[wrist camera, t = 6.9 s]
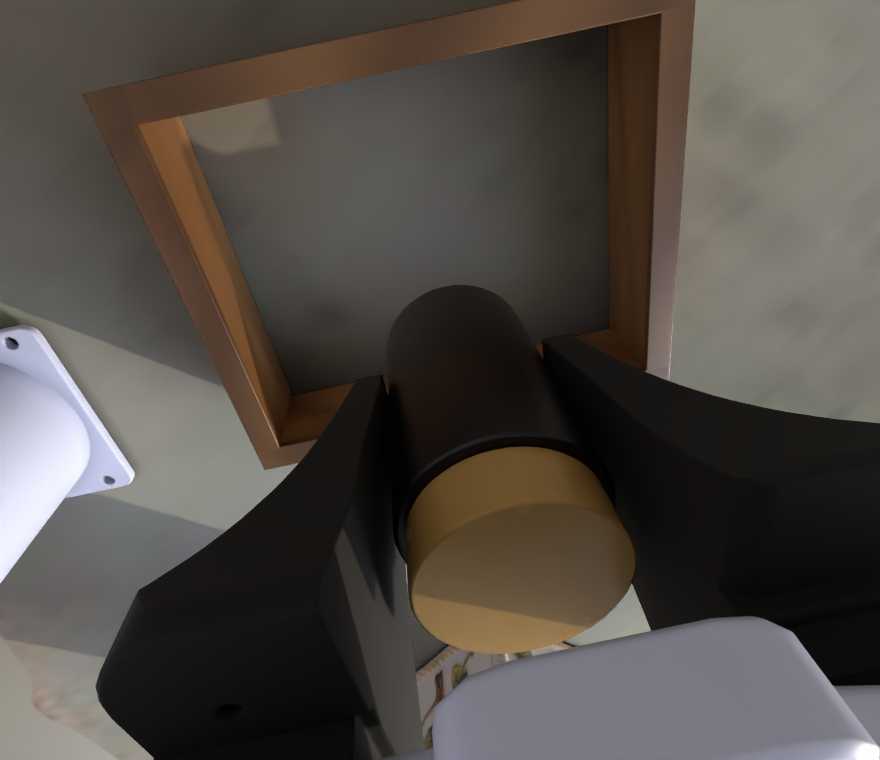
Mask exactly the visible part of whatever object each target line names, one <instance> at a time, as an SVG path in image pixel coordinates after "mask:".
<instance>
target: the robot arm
mask: <svg viewBox="0 0 880 760" xmlns="http://www.w3.org/2000/svg"><path fill="white" fill-rule="evenodd" d="M9 337H11V338H13V339H15V340H16V341H17V342H18V345H17V344H14V343H13V342H12V341H10V339H9ZM542 347H543V359H544V361H545V363H546V365H547V366H548V368H549V370H550V372H551V373H552V375H553V377H554V378H555V380H556V382H557V383H558V385H559V387H560V389H561V390H562V392H563V394H564V395H565V397H566V399H567V400H568V402H569V404H570V406H571V407H572V409H573V411H574V412H575V414H576V416H577V417H578V419H579V421H580V423H581V424H582V426H583V428H584V429H585V431H586V433H587V434H588V436H589V438H590V440H591V441H592V443H593V445H594V446H595V448H596V450H597V451H598V453H599V455H600V457H601V458H602V460H603V462H604V463H605V465H606V467H607V469H608V471H609V473H610V474H611V476H612V479H613V483H614V486H615V495H616V504H615V509H616V511H617V513H618V515H619V516H620V518H621V520H622V522H623V524H624V525H625V527H626V529H627V531H628V533H629V535H630V536H631V538H632V540H633V543H634V547H635V550H636V569H635V574H634V577H633V581H632V584H633V587H634V589H635V592H636V594H637V596H638V599H639V601H640V604H641V606H642V608H643V611H644V613H645V616H646V618H647V621H648V624H649V626H650V629H651V631H649V632H644V633H639V634H635V635H630V636H625V637H620V638H616V639H611V640H606V641H601V642H597V643H592V644H587V645H583V646H578V647H573V648H568V649H564V650H559V651H554V652H549V653H545V654H540V655H535V656H531V657H526V658H521V659H516V660H512V661H507V662H505V663H502V664H499V665H496V666H494V667H491V668H488V669H486V670H483V671H480V672H478V673H475V674H472V675H470V676H467V677H466V678H465V679H464V680H463V681H462V682H461V683H459V684H458V685H457V686H456V687H455V688H454V689H453V690H452V691H450V692H449V693H448V694H447V695H446V696H445V697H444V698H443V699H442V700H441V701H440V702H439V703H438V705H437V706H436V707H435V713H434V720H433V728H432V738H433V748H428V749H425V745H424V737H423V730H422V722H421V714H420V705H419V697H418V688H417V679H416V671H415V662H414V653H413V643H412V634H411V624H410V615H409V604H408V594H407V583H406V567H405V561H404V560H403V559H402V557H401V555H400V554H399V552H398V549H397V547H396V545H395V541H394V537H393V525H392V495H391V464H390V432H389V401H388V393H387V390H386V386H385V383H384V379H383V376H382V374H381V375H376V376H371V377H367V378H362V379H358V380H356V382H355V383H354V385H353V386H352V388H351V389H350V391H349V392H348V394H347V396H346V397H345V399H344V401H343V402H342V404H341V406H340V407H339V409H338V410H337V412H336V413H335V415H334V417H333V418H332V420H331V421H330V423H329V424H328V426H327V427H326V429H325V430H324V432H323V433H322V434H321V436H320V437H319V438H318V440H317V441H316V442H315V444H314V445H313V446H312V448H311V449H310V450H309V452H308V453H307V454H306V455H305V457H304V458H303V459H302V460H301V461H300V462H299V464H298V465H297V466H296V467H295V468H294V469H293V470H292V471H291V472H290V474H289V475H288V476H287V477H286V478H285V479H284V480H283V481H282V482H281V483H280V484H279V485H278V486H277V487H276V488H275V489H274V490H273V491H272V492H271V493H270V494H269V495H268V496H266V497H265V498H264V499H263V500H262V501H261V502H260V503H259V504H258V505H256V506H255V507H254V508H253V509H252V510H251V511H250V512H249V513H248V514H247V515H245V516H244V517H243V518H242V519H241V520H239V521H238V522H237V523H236V524H234V525H233V526H232V527H231V528H229V529H228V530H227V531H226V532H224V533H223V534H222V535H220V536H219V537H218V538H216V539H215V540H214V541H212V542H211V543H210V544H208V545H207V546H206V547H204V548H203V549H201V550H200V551H199V552H197V553H196V554H194V555H193V556H191V557H190V558H188V559H187V560H185V561H184V562H182V563H181V564H179V565H178V566H176V567H175V568H173V569H172V570H170V571H168V572H167V573H165V574H164V575H162V576H161V577H159V578H158V579H156V580H155V581H153V582H151V583H150V584H148V585H147V586H145V587H143V588H142V589H140V590H139V591H138V593H137V595H136V597H135V598H134V600H133V603H132V605H131V607H130V609H129V611H128V613H127V615H126V617H125V619H124V621H123V623H122V626H121V628H120V630H119V632H118V634H117V636H116V638H115V641H114V643H113V645H112V647H111V649H110V651H109V653H108V656H107V658H106V660H105V662H104V664H103V666H102V668H101V671H100V674H99V677H98V680H97V683H96V690H97V694H98V699H99V702H100V703H101V705H102V707H103V708H104V709H105V710H106V712H107V713H108V714H109V716H110V717H111V718H112V719H113V720H114V721H115V722H116V723H117V724H118V725H119V726H120V727H121V728H122V729H123V730H125V731H126V732H127V733H128V734H129V735H130V736H131V737H132V738H133V739H134V740H135V741H136V742H137V743H139V744H140V745H141V746H142V747H143V748H144V749H145V750H146V751H147V752H148V753H149V754H150V755H151V756H153V757H154V760H880V423H870V422H859V421H849V420H838V419H830V418H823V417H816V416H809V415H803V414H796V413H790V412H784V411H779V410H773V409H768V408H763V407H758V406H754V405H750V404H745V403H741V402H737V401H732V400H728V399H724V398H721V397H717V396H713V395H710V394H706V393H703V392H700V391H697V390H694V389H691V388H687V387H684V386H681V385H678V384H676V383H673V382H670V381H667V380H665V379H662V378H660V377H657V376H655V375H652V374H650V373H647V372H645V371H643V370H640V369H638V368H636V367H634V366H631V365H629V364H627V363H625V362H623V361H621V360H619V359H617V358H615V357H612V356H610V355H608V354H606V353H604V352H602V351H601V350H599V349H597V348H595V347H593V346H591V345H589V344H587V343H585V342H583V341H581V340H579V339H577V338H575V337H573V336H570V335H568V334H567V335H562V336H558V337H553V338H548V339H544V340H542ZM134 475H135V473H134V471H133V469H132V468H131V466H130V465H129V463H128V462H127V460H126V459H125V457H124V456H123V454H122V453H121V451H120V450H119V448H118V447H117V445H116V444H115V442H114V441H113V439H112V438H111V436H110V435H109V433H108V432H107V430H106V429H105V427H104V426H103V424H102V423H101V421H100V420H99V418H98V417H97V415H96V414H95V412H94V411H93V409H92V408H91V406H90V405H89V403H88V402H87V400H86V399H85V397H84V396H83V394H82V393H81V392H80V390H79V389H78V387H77V386H76V384H75V383H74V381H73V380H72V378H71V377H70V375H69V374H68V372H67V371H66V369H65V368H64V366H63V365H62V363H61V362H60V360H59V359H58V357H57V356H56V354H55V353H54V351H53V350H52V348H51V347H50V345H49V344H48V342H47V341H46V339H45V338H44V336H43V335H42V333H41V332H40V331H39V330H38V329H36V328H34V327H33V326H30V325H18V326H13V327H8V328H4V329H0V583H1V582H2V580H3V579H4V578H5V576H6V575H7V574H8V572H9V571H10V570H11V568H12V567H13V566H14V564H15V563H16V562H17V560H18V559H19V558H20V556H21V555H22V554H23V552H24V551H25V550H26V548H27V547H28V546H29V544H30V543H31V542H32V540H33V539H34V538H35V536H36V535H37V534H38V532H39V531H40V530H41V528H42V527H43V526H44V524H45V523H46V522H47V520H48V519H49V518H50V516H51V515H52V514H53V512H54V511H55V510H56V508H57V507H58V506H59V504H60V503H61V502H62V500H63V499H64V498H69V497H73V496H78V495H83V494H88V493H92V492H97V491H102V490H107V489H111V488H116V487H121V486H126V485H128V484H130V483H131V481H132V480H133V478H134ZM107 476H110V477H112V478H113V479H111V478H109V477H107Z"/></svg>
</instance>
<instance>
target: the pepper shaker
mask: <svg viewBox="0 0 880 760" xmlns="http://www.w3.org/2000/svg"><path fill="white" fill-rule="evenodd" d="M387 370H388V401H389V432H390V464H391V495H392V525H393V537H394V541H395V545H396V547H397V549H398V552H399V554H400V555H401V557H402V559H403V560H404V561H405V563H406V564H407V576H408V593H409V601H410V606H411V609H412V611H413V613H414V615H415V617H416V619H417V620H418V622H419V623H420V624H421V626H422V627H423V628H424V629H425V630H426V631H427V632H428V633H429V634H431V635H432V636H434V637H435V638H437V639H438V640H440V641H442V642H444V643H446V644H448V645H451V646H453V647H456V648H459V649H463V650H467V651H472V652H479V653H490V654H508V653H518V652H525V651H531V650H536V649H540V648H544V647H548V646H551V645H554V644H557V643H560V642H562V641H565V640H567V639H569V638H572V637H574V636H576V635H578V634H580V633H582V632H584V631H585V630H587V629H588V628H590V627H592V626H593V625H595V624H596V623H598V622H599V621H600V620H602V619H603V618H604V617H605V616H606V615H608V614H609V613H610V612H611V611H612V610H613V609H614V608H615V607H616V606H617V605H618V603H619V602H620V601H621V600H622V598H623V597H624V596H625V594H626V593H627V591H628V589H629V587H630V585H631V583H632V581H633V577H634V574H635V569H636V550H635V547H634V543H633V540H632V538H631V536H630V535H629V533H628V531H627V529H626V527H625V525H624V524H623V522H622V520H621V518H620V516H619V515H618V513H617V511H616V509H615V504H616V495H615V486H614V483H613V479H612V476H611V474H610V473H609V471H608V469H607V467H606V465H605V463H604V462H603V460H602V458H601V457H600V455H599V453H598V451H597V450H596V448H595V446H594V445H593V443H592V441H591V440H590V438H589V436H588V434H587V433H586V431H585V429H584V428H583V426H582V424H581V423H580V421H579V419H578V417H577V416H576V414H575V412H574V411H573V409H572V407H571V406H570V404H569V402H568V400H567V399H566V397H565V395H564V394H563V392H562V390H561V389H560V387H559V385H558V383H557V382H556V380H555V378H554V377H553V375H552V373H551V372H550V370H549V368H548V366H547V365H546V363H545V361H544V360H543V358H542V356H541V355H540V353H539V351H538V349H537V348H536V346H535V344H534V343H533V341H532V339H531V338H530V336H529V334H528V332H527V331H526V329H525V327H524V326H523V324H522V322H521V321H520V319H519V317H518V315H517V314H516V312H515V311H514V310H513V308H512V307H511V306H510V305H509V304H508V303H507V302H506V301H505V300H504V299H502V298H501V297H500V296H498V295H496V294H494V293H493V292H491V291H488V290H486V289H483V288H479V287H475V286H468V285H453V286H446V287H442V288H438V289H435V290H432V291H430V292H428V293H425V294H424V295H422V296H420V297H418V298H417V299H416V300H414V301H413V302H412V303H410V304H409V305H408V306H407V307H406V308H405V309H404V310H403V311H402V313H401V314H400V315H399V316H398V318H397V319H396V321H395V323H394V325H393V327H392V329H391V332H390V334H389V338H388V343H387Z"/></svg>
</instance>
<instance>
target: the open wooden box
mask: <svg viewBox="0 0 880 760" xmlns="http://www.w3.org/2000/svg"><path fill="white" fill-rule="evenodd" d="M695 1H696V0H516V1H511V2H507V3H502V4H497V5H493V6H488V7H483V8H479V9H474V10H469V11H465V12H460V13H456V14H451V15H446V16H442V17H437V18H432V19H428V20H423V21H418V22H414V23H409V24H404V25H400V26H395V27H390V28H386V29H381V30H376V31H372V32H367V33H362V34H358V35H353V36H348V37H344V38H339V39H334V40H330V41H325V42H320V43H316V44H311V45H306V46H302V47H297V48H292V49H288V50H283V51H278V52H274V53H269V54H264V55H260V56H255V57H250V58H246V59H241V60H236V61H232V62H227V63H222V64H218V65H213V66H208V67H204V68H199V69H194V70H190V71H185V72H180V73H176V74H171V75H167V76H162V77H157V78H153V79H148V80H143V81H139V82H134V83H129V84H125V85H120V86H115V87H111V88H106V89H101V90H97V91H92V92H87V93H83V97H84V99H85V101H86V103H87V105H88V107H89V109H90V111H91V113H92V115H93V117H94V119H95V121H96V123H97V125H98V128H99V130H100V132H101V134H102V136H103V138H104V140H105V142H106V144H107V146H108V148H109V150H110V152H111V154H112V156H113V158H114V161H115V163H116V165H117V167H118V169H119V171H120V173H121V175H122V177H123V179H124V181H125V183H126V185H127V187H128V189H129V191H130V193H131V196H132V198H133V200H134V202H135V204H136V206H137V208H138V210H139V212H140V214H141V216H142V218H143V220H144V222H145V224H146V226H147V228H148V231H149V233H150V235H151V237H152V239H153V241H154V243H155V245H156V247H157V249H158V251H159V253H160V255H161V257H162V259H163V261H164V264H165V266H166V268H167V270H168V272H169V274H170V276H171V278H172V280H173V282H174V284H175V286H176V288H177V290H178V292H179V294H180V296H181V299H182V301H183V303H184V305H185V307H186V309H187V311H188V313H189V315H190V317H191V319H192V321H193V323H194V325H195V327H196V329H197V331H198V334H199V336H200V338H201V340H202V342H203V344H204V346H205V348H206V350H207V352H208V354H209V356H210V358H211V360H212V362H213V364H214V367H215V369H216V371H217V373H218V375H219V377H220V379H221V381H222V383H223V385H224V387H225V389H226V391H227V393H228V395H229V397H230V399H231V402H232V404H233V406H234V408H235V410H236V412H237V414H238V416H239V418H240V420H241V422H242V424H243V426H244V428H245V430H246V432H247V434H248V437H249V439H250V441H251V443H252V445H253V447H254V449H255V451H256V453H257V455H258V457H259V459H260V461H261V463H262V465H263V467H264V469H265V470H267V469H272V468H276V467H281V466H286V465H291V464H295V463H299V462H300V461H301V460H302V459H303V458H304V457H305V455H306V454H307V453H308V452H309V450H310V449H311V448H312V446H313V445H314V444H315V442H316V441H317V440H318V438H319V437H320V436H321V434H322V433H323V432H324V430H325V429H326V427H327V426H328V424H329V423H330V421H331V420H332V418H333V417H334V415H335V413H336V412H337V410H338V409H339V407H340V406H341V404H342V402H343V401H344V399H345V397H346V396H347V394H348V392H349V391H350V389H351V388H352V386H353V385H354V383H350V384H346V385H341V386H336V387H332V388H327V389H322V390H317V391H313V392H308V393H303V394H298V395H294V396H292V393H291V390H290V388H289V385H288V383H287V380H286V378H285V375H284V373H283V371H282V368H281V366H280V363H279V361H278V358H277V356H276V353H275V351H274V348H273V346H272V343H271V341H270V338H269V336H268V333H267V331H266V328H265V326H264V324H263V321H262V319H261V316H260V314H259V311H258V309H257V306H256V304H255V301H254V299H253V296H252V294H251V291H250V289H249V286H248V284H247V281H246V279H245V277H244V274H243V272H242V269H241V267H240V264H239V262H238V259H237V257H236V254H235V252H234V249H233V247H232V244H231V242H230V239H229V237H228V235H227V232H226V230H225V227H224V225H223V222H222V220H221V217H220V215H219V212H218V210H217V207H216V205H215V202H214V200H213V197H212V195H211V192H210V190H209V188H208V185H207V183H206V180H205V178H204V175H203V173H202V170H201V168H200V165H199V163H198V160H197V158H196V155H195V153H194V150H193V148H192V146H191V143H190V141H189V138H188V136H187V133H186V131H185V128H184V126H183V123H182V121H181V118H180V116H184V115H188V114H193V113H198V112H202V111H207V110H212V109H216V108H221V107H226V106H230V105H235V104H240V103H244V102H249V101H254V100H258V99H263V98H268V97H272V96H277V95H282V94H286V93H291V92H296V91H301V90H305V89H310V88H315V87H319V86H324V85H329V84H333V83H338V82H343V81H347V80H352V79H357V78H361V77H366V76H371V75H375V74H380V73H385V72H389V71H394V70H399V69H403V68H408V67H413V66H417V65H422V64H427V63H431V62H436V61H441V60H445V59H450V58H455V57H459V56H464V55H469V54H473V53H478V52H483V51H487V50H492V49H497V48H501V47H506V46H511V45H515V44H520V43H525V42H529V41H534V40H539V39H543V38H548V37H553V36H557V35H562V34H567V33H571V32H576V31H581V30H585V29H590V28H595V27H599V26H604V25H608V113H609V328H610V329H606V330H602V331H597V332H592V333H587V334H583V335H578V336H573V337H575V338H577V339H579V340H581V341H583V342H585V343H587V344H589V345H591V346H593V347H595V348H597V349H599V350H601V351H602V352H604V353H606V354H608V355H610V356H612V357H615V358H617V359H619V360H621V361H623V362H625V363H627V364H629V365H631V366H634V367H636V368H638V369H640V370H643V371H645V372H647V373H650V374H652V375H655V376H657V377H660V378H662V379H665V380H667V381H669V373H670V359H671V344H672V330H673V316H674V301H675V287H676V273H677V258H678V244H679V230H680V215H681V201H682V187H683V172H684V158H685V144H686V129H687V115H688V101H689V87H690V72H691V58H692V44H693V29H694V15H695ZM535 346H536V348H537V349H538V351H539V353H540V355H541V356H542V358H543V347H542V343H540V344H535ZM543 360H544V359H543ZM383 379H384V383H385V386H386V390H387V393H388V376H384V377H383Z"/></svg>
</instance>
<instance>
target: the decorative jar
mask: <svg viewBox="0 0 880 760" xmlns="http://www.w3.org/2000/svg"><path fill="white" fill-rule="evenodd" d="M568 648H573V646H569V645H567V644H564V643H562V642H560V643H557V644H554V645H551V646H548V647H544V648H540V649H536V650H531V651H525V652H518V653H508V654H490V653H479V652H472V651H467V650H463V649H459V648H456V647H453V646H451V645H449V646H448V647H447V648H445V649H444V650H443V651H442V652H441V653H440V654H438V655H437V656H436V657H435V658H434V659H432V660H431V661H430V662H429V663H427V664H426V665H425V666H424V667H423V668H421V669H420V670H419V671H417V672H416V679H417V688H418V697H419V705H420V714H421V722H422V730H423V737H424V745H425V749H428V748H433V738H432V728H433V720H434V713H435V707H436V706H437V705H438V703H439V702H440V701H441V700H442V699H443V698H444V697H445V696H446V695H447V694H448V693H449V692H450V691H452V690H453V689H454V688H455V687H456V686H457V685H458V684H459V683H461V682H462V681H463V680H464V679H465V678H466V677H467V676H470V675H472V674H475V673H478V672H480V671H483V670H486V669H488V668H491V667H494V666H496V665H499V664H502V663H505V662H507V661H512V660H516V659H521V658H526V657H531V656H535V655H540V654H545V653H549V652H554V651H559V650H564V649H568Z"/></svg>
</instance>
